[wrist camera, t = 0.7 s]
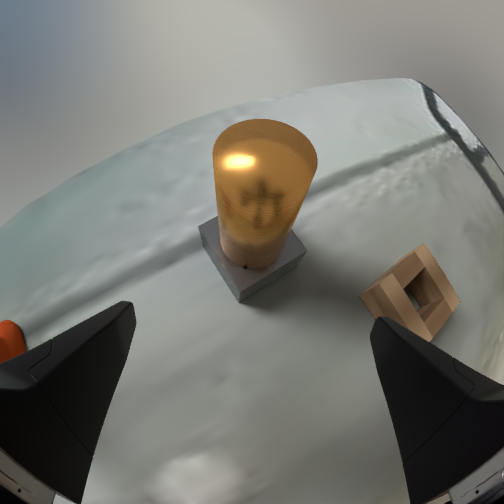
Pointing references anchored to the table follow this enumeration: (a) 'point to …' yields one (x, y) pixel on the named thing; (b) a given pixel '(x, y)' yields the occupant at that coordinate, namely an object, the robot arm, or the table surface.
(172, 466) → the table surface
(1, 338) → the toy drill
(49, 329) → the table surface
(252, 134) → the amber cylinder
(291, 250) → the block
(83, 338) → the robot arm
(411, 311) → the wooden square ring
